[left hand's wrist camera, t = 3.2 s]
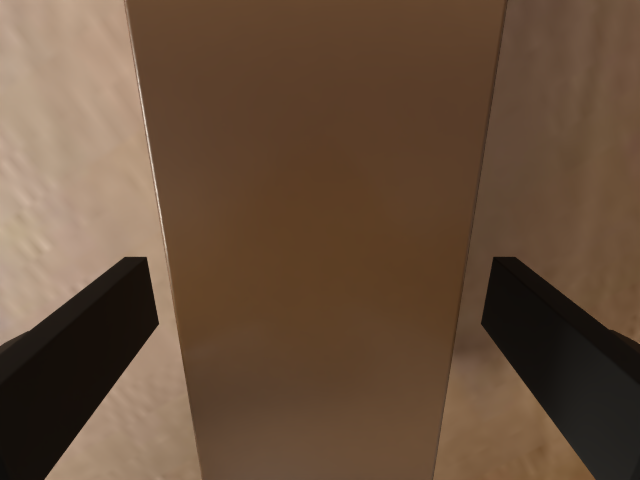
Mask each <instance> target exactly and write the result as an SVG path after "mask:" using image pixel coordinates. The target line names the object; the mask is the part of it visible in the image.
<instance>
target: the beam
mask: <svg viewBox="0 0 640 480" xmlns="http://www.w3.org/2000/svg"><path fill="white" fill-rule="evenodd" d="M507 2H508V0H124V5H125V11H126V17H127V23H128V29H129V35H130V41H131V47H132V54H133V60H134V66H135V72H136V78H137V84H138V90H139V96H140V103H141V109H142V115H143V121H144V127H145V133H146V139H147V145H148V152H149V158H150V164H151V170H152V176H153V182H154V188H155V194H156V201H157V207H158V213H159V219H160V225H161V231H162V237H163V243H164V250H165V256H166V262H167V268H168V274H169V280H170V286H171V292H172V299H173V305H174V311H175V317H176V323H177V329H178V335H179V341H180V348H181V354H182V360H183V366H184V372H185V378H186V384H187V390H188V397H189V403H190V409H191V415H192V421H193V427H194V433H195V439H196V446H197V452H198V458H199V464H200V470H201V476H202V480H433V476H434V469H435V463H436V457H437V450H438V444H439V437H440V431H441V425H442V418H443V412H444V405H445V399H446V392H447V386H448V380H449V373H450V367H451V360H452V354H453V348H454V341H455V335H456V328H457V322H458V316H459V309H460V303H461V296H462V290H463V284H464V277H465V271H466V264H467V258H468V252H469V245H470V239H471V232H472V226H473V220H474V213H475V207H476V200H477V194H478V187H479V181H480V175H481V168H482V162H483V155H484V149H485V143H486V136H487V130H488V123H489V117H490V111H491V104H492V98H493V91H494V85H495V79H496V72H497V66H498V59H499V53H500V47H501V40H502V34H503V27H504V21H505V14H506V8H507Z"/></svg>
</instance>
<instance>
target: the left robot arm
mask: <svg viewBox="0 0 640 480" xmlns="http://www.w3.org/2000/svg"><path fill="white" fill-rule="evenodd" d="M158 325H159V321H158V316H157V310H156V305H155V300H154V294H153V289H152V283H151V278H150V273H149V267H148V262H147V257H124V258H123V259H122V260H120V261H119V262H118V263H116V264H115V265H114V266H113V267H111V268H110V269H109V270H107V271H106V272H105V273H104V274H102V275H101V276H100V277H98V278H97V279H96V280H95V281H93V282H92V283H91V284H89V285H88V286H87V287H86V288H84V289H83V290H82V291H80V292H79V293H78V294H77V295H75V296H74V297H73V298H71V299H70V300H69V301H67V302H66V303H65V304H64V305H62V306H61V307H60V308H58V309H57V310H56V311H55V312H53V313H52V314H51V315H49V316H48V317H47V318H46V319H44V320H43V321H42V322H40V323H39V324H38V325H37V326H35V327H34V328H33V329H31V330H30V331H27V332H25V333H23V334H21V335H19V336H17V337H16V338H14V339H12V340H10V341H8V342H6V343H4V344H3V345H1V346H0V480H44V479H45V478H46V476H47V475H48V474H49V472H50V471H51V470H52V468H53V467H54V466H55V464H56V463H57V462H58V460H59V459H60V457H61V456H62V455H63V453H64V452H65V451H66V449H67V448H68V447H69V445H70V444H71V443H72V441H73V440H74V438H75V437H76V436H77V434H78V433H79V432H80V430H81V429H82V428H83V426H84V425H85V424H86V422H87V421H88V419H89V418H90V417H91V415H92V414H93V413H94V411H95V410H96V409H97V407H98V406H99V405H100V403H101V402H102V400H103V399H104V398H105V396H106V395H107V394H108V392H109V391H110V390H111V388H112V387H113V386H114V384H115V383H116V381H117V380H118V379H119V377H120V376H121V375H122V373H123V372H124V371H125V369H126V368H127V367H128V365H129V364H130V362H131V361H132V360H133V358H134V357H135V356H136V354H137V353H138V352H139V350H140V349H141V348H142V346H143V345H144V344H145V342H146V341H147V339H148V338H149V337H150V335H151V334H152V333H153V331H154V330H155V329H156V327H157V326H158ZM481 325H482V326H483V327H484V329H485V330H486V331H487V333H488V334H489V335H490V337H491V338H492V339H493V341H494V342H495V344H496V345H497V346H498V348H499V349H500V350H501V352H502V353H503V354H504V356H505V357H506V358H507V360H508V361H509V363H510V364H511V365H512V367H513V368H514V369H515V371H516V372H517V373H518V375H519V376H520V377H521V379H522V380H523V382H524V383H525V384H526V386H527V387H528V388H529V390H530V391H531V392H532V394H533V395H534V396H535V398H536V399H537V401H538V402H539V403H540V405H541V406H542V407H543V409H544V410H545V411H546V413H547V414H548V415H549V417H550V418H551V419H552V421H553V422H554V424H555V425H556V426H557V428H558V429H559V430H560V432H561V433H562V434H563V436H564V437H565V438H566V440H567V441H568V443H569V444H570V445H571V447H572V448H573V449H574V451H575V452H576V453H577V455H578V456H579V457H580V459H581V460H582V462H583V463H584V464H585V466H586V467H587V468H588V470H589V471H590V472H591V474H592V475H593V476H594V478H595V479H596V480H640V344H638V343H637V342H635V341H634V340H632V339H630V338H628V337H626V336H624V335H622V334H620V333H618V332H616V331H614V330H609V329H607V328H606V327H605V326H603V325H602V324H601V323H600V322H598V321H597V320H596V319H594V318H593V317H592V316H591V315H589V314H588V313H587V312H585V311H584V310H583V309H582V308H580V307H579V306H578V305H576V304H575V303H574V302H572V301H571V300H570V299H569V298H567V297H566V296H565V295H563V294H562V293H561V292H560V291H558V290H557V289H556V288H554V287H553V286H552V285H551V284H549V283H548V282H547V281H545V280H544V279H543V278H542V277H540V276H539V275H538V274H536V273H535V272H534V271H533V270H531V269H530V268H529V267H527V266H526V265H525V264H524V263H522V262H521V261H520V260H518V259H517V258H516V257H493V262H492V267H491V273H490V278H489V283H488V289H487V294H486V300H485V305H484V310H483V316H482V321H481Z"/></svg>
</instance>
